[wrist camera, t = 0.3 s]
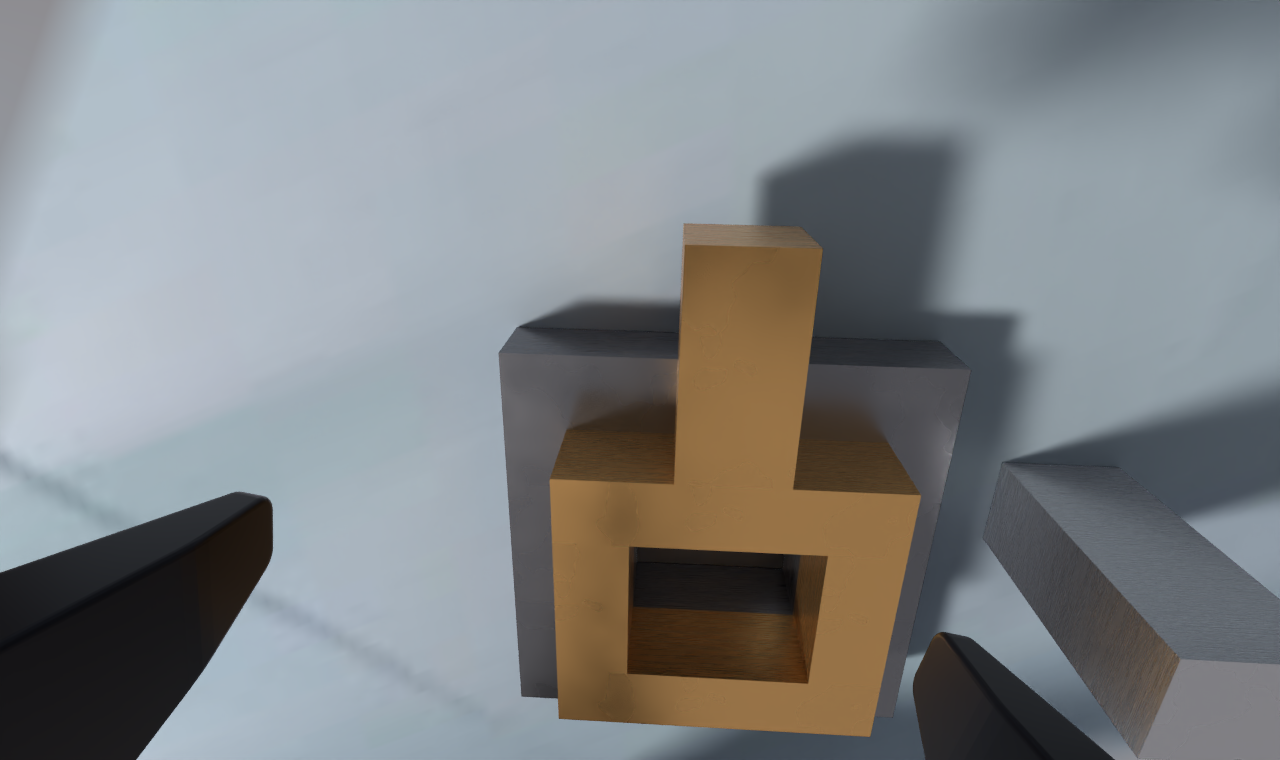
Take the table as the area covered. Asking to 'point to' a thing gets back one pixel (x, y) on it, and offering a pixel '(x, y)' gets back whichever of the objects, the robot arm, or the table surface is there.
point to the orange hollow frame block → (725, 501)
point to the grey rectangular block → (1143, 611)
